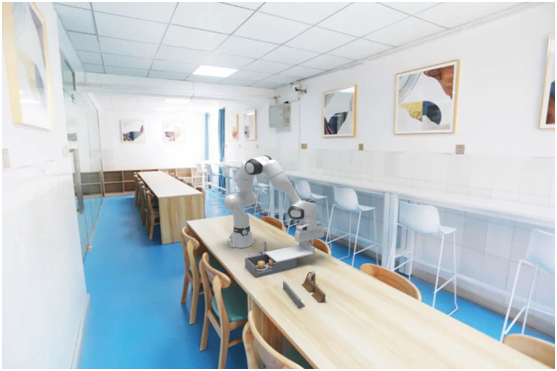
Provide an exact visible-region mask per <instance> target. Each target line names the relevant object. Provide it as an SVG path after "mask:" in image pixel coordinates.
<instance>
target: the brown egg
mask: <svg viewBox="0 0 557 371" xmlns="http://www.w3.org/2000/svg"><path fill="white" fill-rule="evenodd" d="M258 269H261V270H262V269H265V262H264V261H258Z"/></svg>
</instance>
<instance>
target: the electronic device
mask: <svg viewBox="0 0 557 371" xmlns="http://www.w3.org/2000/svg"><path fill="white" fill-rule="evenodd" d="M267 248H268V247H267V241H263V251H258V252H255V253H251V254H248V255H247V258H248V257H252V256H257V255H261V254H265V252H268V250H267Z"/></svg>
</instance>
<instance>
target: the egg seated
mask: <svg viewBox="0 0 557 371" xmlns="http://www.w3.org/2000/svg"><path fill="white" fill-rule="evenodd" d="M273 263H276V262H275V261H274V260H273V259H271V258H270V259H269V266H270V267H273Z"/></svg>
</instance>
